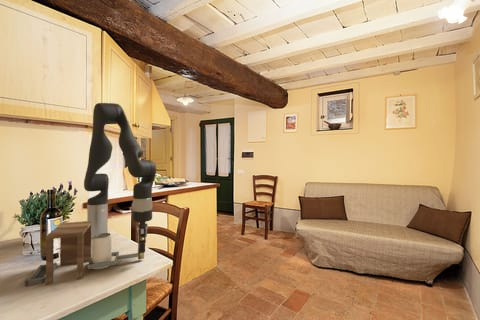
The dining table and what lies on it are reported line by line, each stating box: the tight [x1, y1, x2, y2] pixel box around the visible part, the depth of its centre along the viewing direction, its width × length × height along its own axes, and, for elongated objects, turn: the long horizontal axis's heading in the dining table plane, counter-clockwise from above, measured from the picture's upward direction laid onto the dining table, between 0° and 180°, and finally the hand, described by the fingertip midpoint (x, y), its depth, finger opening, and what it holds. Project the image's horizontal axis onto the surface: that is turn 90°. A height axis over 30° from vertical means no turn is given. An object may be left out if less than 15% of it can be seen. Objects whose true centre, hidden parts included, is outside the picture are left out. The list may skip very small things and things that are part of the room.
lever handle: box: [87, 237, 145, 270], centre depth 90 cm, size 9×19×10 cm, turn 113°
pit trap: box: [24, 262, 58, 287], centre depth 80 cm, size 12×5×2 cm, turn 23°
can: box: [92, 232, 113, 271], centre depth 88 cm, size 6×6×12 cm
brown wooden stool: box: [45, 220, 93, 285], centre depth 84 cm, size 16×10×16 cm, turn 23°
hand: (142, 249), depth 93 cm, fingers open, 6 cm apart
